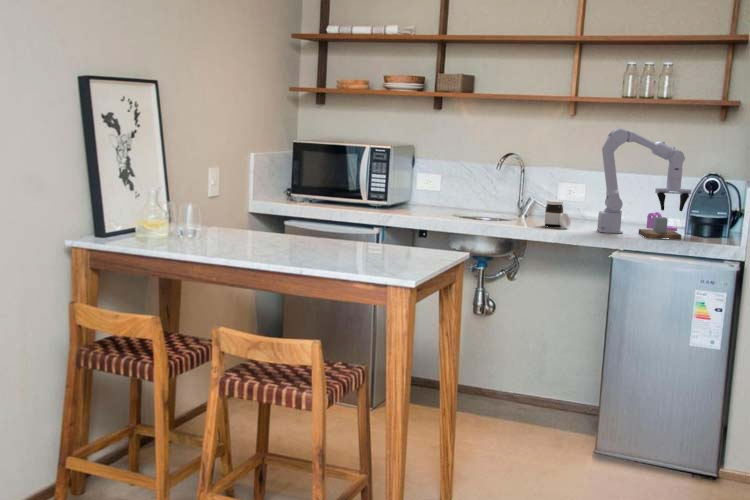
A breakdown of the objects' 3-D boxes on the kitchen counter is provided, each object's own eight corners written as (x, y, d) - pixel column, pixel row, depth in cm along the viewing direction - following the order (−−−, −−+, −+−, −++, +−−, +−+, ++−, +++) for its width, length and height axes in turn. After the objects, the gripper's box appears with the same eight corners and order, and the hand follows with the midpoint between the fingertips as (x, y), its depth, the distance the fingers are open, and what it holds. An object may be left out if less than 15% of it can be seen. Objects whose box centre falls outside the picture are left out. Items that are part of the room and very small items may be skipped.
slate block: (655, 232, 353) (656, 218, 352) (652, 230, 358) (653, 216, 357) (666, 232, 353) (667, 218, 352) (663, 231, 358) (664, 217, 356)
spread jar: (545, 224, 382) (547, 199, 380) (571, 226, 379) (573, 200, 377) (542, 228, 371) (544, 201, 369) (569, 230, 367) (570, 203, 365)
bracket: (646, 227, 383) (647, 212, 382) (653, 226, 386) (654, 211, 385) (672, 231, 373) (674, 215, 372) (679, 230, 377) (680, 215, 375)
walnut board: (646, 238, 349) (646, 233, 349) (638, 233, 363) (638, 229, 362) (681, 240, 348) (681, 235, 348) (671, 234, 362) (672, 230, 362)
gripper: (659, 178, 354) (656, 211, 357) (694, 180, 353) (691, 212, 356) (655, 177, 361) (652, 209, 364) (689, 178, 360) (686, 210, 363)
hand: (671, 210), depth 360 cm, fingers open, 7 cm apart
